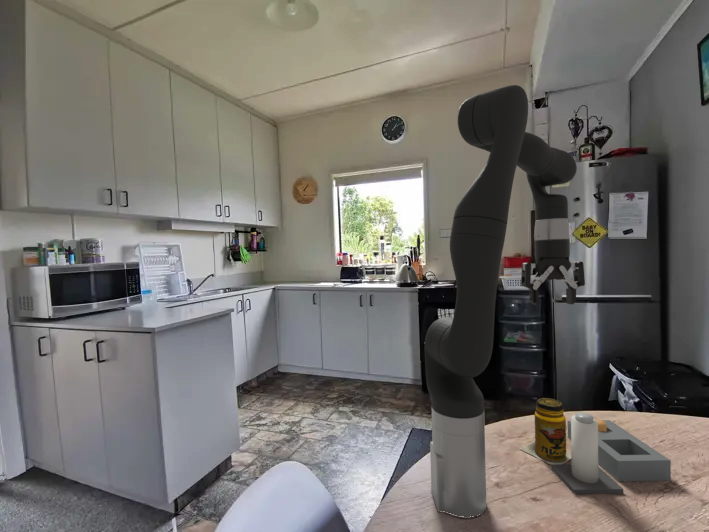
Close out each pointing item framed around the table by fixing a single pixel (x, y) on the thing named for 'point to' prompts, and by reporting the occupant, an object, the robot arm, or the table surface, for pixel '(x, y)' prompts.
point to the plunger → (602, 426)
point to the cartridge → (584, 447)
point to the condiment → (549, 433)
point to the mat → (579, 487)
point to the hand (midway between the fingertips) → (552, 304)
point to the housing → (629, 456)
